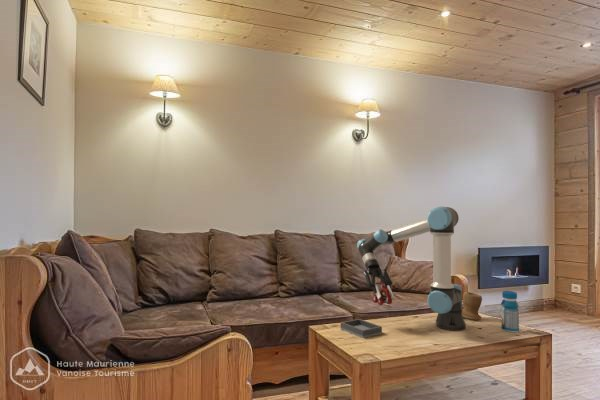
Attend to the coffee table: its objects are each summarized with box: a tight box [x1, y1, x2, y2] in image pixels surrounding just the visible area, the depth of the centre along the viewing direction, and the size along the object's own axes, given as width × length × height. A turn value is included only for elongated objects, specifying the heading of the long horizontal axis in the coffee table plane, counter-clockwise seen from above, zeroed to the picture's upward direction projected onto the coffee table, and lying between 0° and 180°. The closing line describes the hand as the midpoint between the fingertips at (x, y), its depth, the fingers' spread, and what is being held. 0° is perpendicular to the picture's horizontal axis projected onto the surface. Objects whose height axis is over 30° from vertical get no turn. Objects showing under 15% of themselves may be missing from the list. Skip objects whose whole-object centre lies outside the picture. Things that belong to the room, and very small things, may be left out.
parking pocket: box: [340, 318, 383, 339], centre depth 195 cm, size 17×13×4 cm
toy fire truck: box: [371, 282, 393, 306], centre depth 203 cm, size 7×12×10 cm, turn 21°
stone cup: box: [462, 291, 483, 321], centre depth 222 cm, size 15×12×15 cm
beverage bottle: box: [500, 290, 520, 333], centre depth 198 cm, size 8×8×20 cm
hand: (385, 297), depth 200 cm, fingers closed on toy fire truck, 7 cm apart
